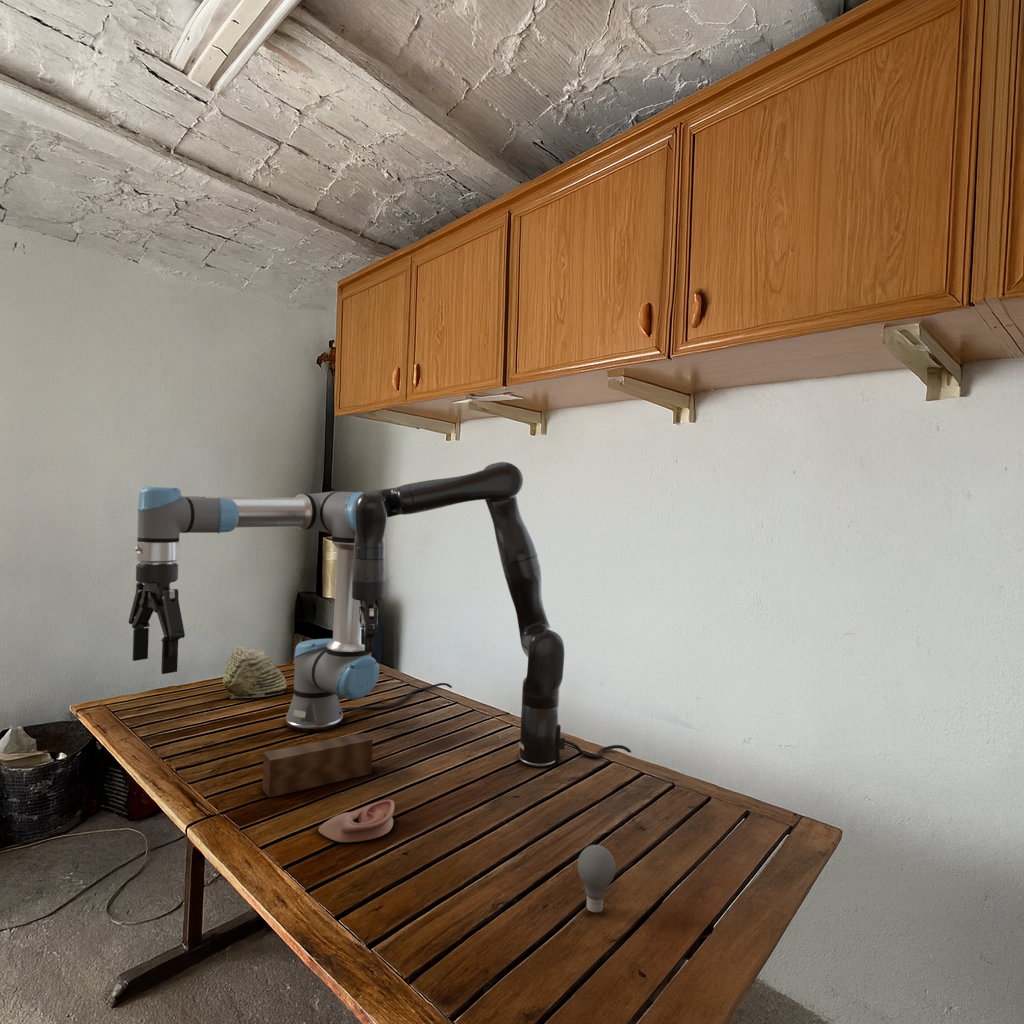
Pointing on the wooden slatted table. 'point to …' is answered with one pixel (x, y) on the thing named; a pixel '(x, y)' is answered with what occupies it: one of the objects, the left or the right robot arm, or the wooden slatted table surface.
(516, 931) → the wooden slatted table surface
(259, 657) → the fossil
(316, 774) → the bar
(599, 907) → the light bulb
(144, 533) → the left robot arm
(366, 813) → the anatomical model
